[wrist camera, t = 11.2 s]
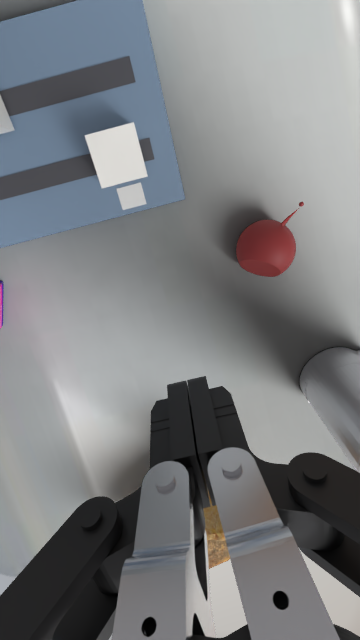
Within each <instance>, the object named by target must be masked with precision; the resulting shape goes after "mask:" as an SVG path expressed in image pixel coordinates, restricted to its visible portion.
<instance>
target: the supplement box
mask: <svg viewBox="0 0 360 640" xmlns="http://www.w3.org/2000/svg"><path fill="white" fill-rule="evenodd" d="M2 326H3V281H0V328H1V327H2Z"/></svg>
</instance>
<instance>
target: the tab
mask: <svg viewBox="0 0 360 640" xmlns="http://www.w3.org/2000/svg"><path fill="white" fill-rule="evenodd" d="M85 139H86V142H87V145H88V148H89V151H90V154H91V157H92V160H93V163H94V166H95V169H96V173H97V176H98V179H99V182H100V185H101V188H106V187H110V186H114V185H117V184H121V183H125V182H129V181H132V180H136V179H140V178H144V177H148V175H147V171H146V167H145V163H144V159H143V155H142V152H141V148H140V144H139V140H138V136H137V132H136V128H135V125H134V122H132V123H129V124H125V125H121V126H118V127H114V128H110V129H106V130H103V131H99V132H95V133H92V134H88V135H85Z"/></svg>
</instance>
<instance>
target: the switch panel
mask: <svg viewBox="0 0 360 640" xmlns="http://www.w3.org/2000/svg"><path fill="white" fill-rule="evenodd" d="M0 95H1V98H2V100H3V103H4V105H5V108H6V110H7V113H8V115H9V117H10V120H11V122H12V125H13V127H14V131H11V132H7V133H3V134H0V248H2V247H6V246H10V245H14V244H18V243H21V242H25V241H29V240H33V239H36V238H40V237H44V236H48V235H52V234H55V233H59V232H63V231H67V230H71V229H74V228H78V227H82V226H86V225H90V224H93V223H97V222H101V221H105V220H108V219H112V218H116V217H120V216H124V215H127V214H131V213H135V212H139V211H143V210H146V209H150V208H154V207H158V206H162V205H165V204H169V203H173V202H177V201H180V200H184V199H185V195H184V191H183V186H182V182H181V177H180V172H179V168H178V163H177V158H176V154H175V149H174V145H173V140H172V135H171V131H170V126H169V121H168V117H167V112H166V108H165V103H164V98H163V94H162V89H161V85H160V80H159V75H158V71H157V66H156V61H155V57H154V52H153V48H152V43H151V38H150V34H149V29H148V24H147V20H146V15H145V11H144V6H143V1H142V0H77V1H73V2H70V3H66V4H63V5H59V6H55V7H52V8H48V9H44V10H41V11H37V12H34V13H30V14H26V15H23V16H19V17H15V18H12V19H8V20H5V21H1V22H0ZM132 122H134V125H135V128H136V132H137V136H138V140H139V144H140V148H141V152H142V155H143V159H144V163H145V167H146V171H147V175H148V177H144V178H140V179H136V180H132V181H129V182H125V183H121V184H117V185H114V186H110V187H106V188H101V185H100V182H99V179H98V176H97V173H96V169H95V166H94V163H93V160H92V157H91V154H90V151H89V148H88V145H87V142H86V139H85V135H88V134H92V133H95V132H99V131H103V130H106V129H110V128H114V127H118V126H121V125H125V124H129V123H132Z"/></svg>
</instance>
